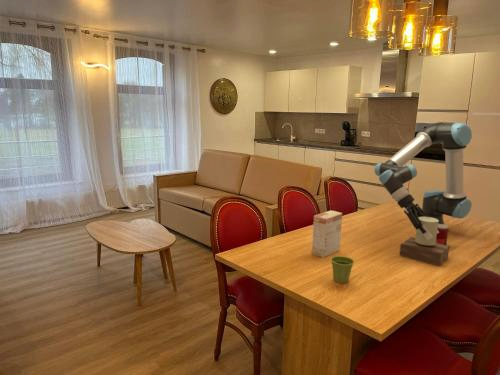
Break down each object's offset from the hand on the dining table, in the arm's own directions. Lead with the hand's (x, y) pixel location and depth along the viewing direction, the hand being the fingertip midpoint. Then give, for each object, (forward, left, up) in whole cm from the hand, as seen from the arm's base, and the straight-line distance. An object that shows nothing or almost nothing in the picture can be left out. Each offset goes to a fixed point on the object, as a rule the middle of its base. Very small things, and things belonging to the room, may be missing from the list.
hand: (433, 236), depth 176 cm
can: (0, -3, -4) cm, 5 cm away
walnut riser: (0, -3, -11) cm, 12 cm away
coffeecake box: (+29, -40, -11) cm, 51 cm away
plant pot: (+52, -19, -11) cm, 57 cm away
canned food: (-22, -3, -11) cm, 25 cm away
